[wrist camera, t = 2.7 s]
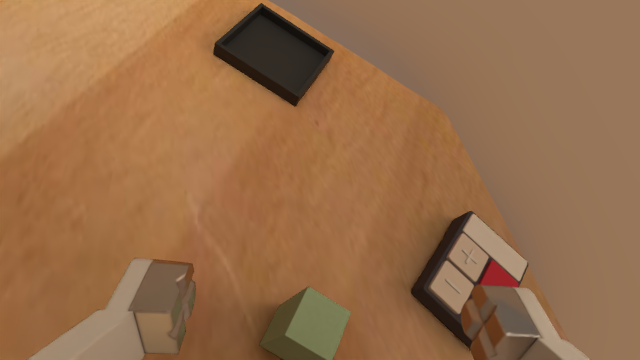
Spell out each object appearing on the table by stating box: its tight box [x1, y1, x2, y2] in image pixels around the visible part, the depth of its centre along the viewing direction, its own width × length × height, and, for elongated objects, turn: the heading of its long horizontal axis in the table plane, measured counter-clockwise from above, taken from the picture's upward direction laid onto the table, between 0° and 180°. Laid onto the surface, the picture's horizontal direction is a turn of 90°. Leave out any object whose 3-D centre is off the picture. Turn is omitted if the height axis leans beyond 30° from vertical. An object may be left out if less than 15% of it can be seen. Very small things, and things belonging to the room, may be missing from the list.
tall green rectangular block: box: [259, 286, 351, 360], centre depth 35 cm, size 4×4×10 cm
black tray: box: [214, 3, 334, 106], centre depth 56 cm, size 14×13×2 cm
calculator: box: [412, 211, 528, 348], centre depth 48 cm, size 11×4×15 cm
